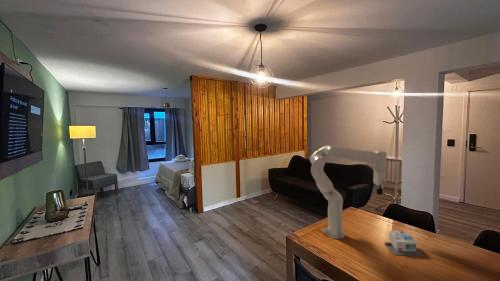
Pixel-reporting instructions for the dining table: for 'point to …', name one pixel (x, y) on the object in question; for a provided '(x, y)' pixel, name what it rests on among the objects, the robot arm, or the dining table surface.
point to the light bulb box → (402, 241)
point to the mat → (403, 252)
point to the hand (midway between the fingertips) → (379, 194)
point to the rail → (388, 244)
